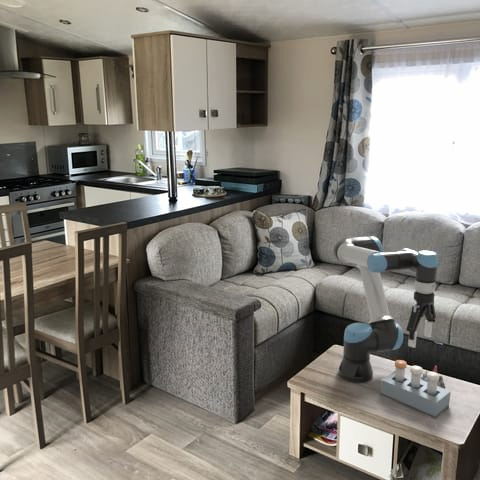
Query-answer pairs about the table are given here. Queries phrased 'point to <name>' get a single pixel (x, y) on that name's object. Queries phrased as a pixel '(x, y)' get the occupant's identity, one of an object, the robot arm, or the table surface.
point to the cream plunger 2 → (432, 383)
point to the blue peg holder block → (415, 395)
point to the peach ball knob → (400, 370)
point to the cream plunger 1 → (415, 377)
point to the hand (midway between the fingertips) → (419, 341)
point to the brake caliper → (439, 383)
